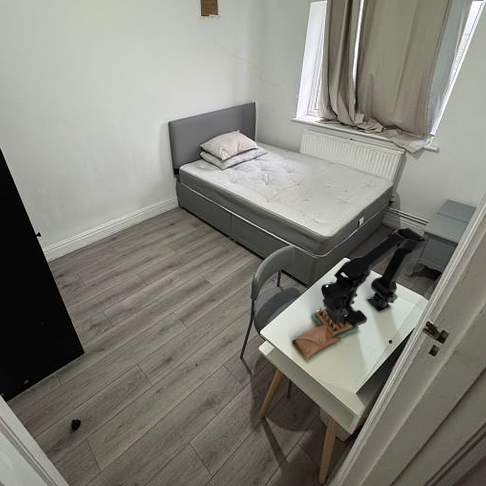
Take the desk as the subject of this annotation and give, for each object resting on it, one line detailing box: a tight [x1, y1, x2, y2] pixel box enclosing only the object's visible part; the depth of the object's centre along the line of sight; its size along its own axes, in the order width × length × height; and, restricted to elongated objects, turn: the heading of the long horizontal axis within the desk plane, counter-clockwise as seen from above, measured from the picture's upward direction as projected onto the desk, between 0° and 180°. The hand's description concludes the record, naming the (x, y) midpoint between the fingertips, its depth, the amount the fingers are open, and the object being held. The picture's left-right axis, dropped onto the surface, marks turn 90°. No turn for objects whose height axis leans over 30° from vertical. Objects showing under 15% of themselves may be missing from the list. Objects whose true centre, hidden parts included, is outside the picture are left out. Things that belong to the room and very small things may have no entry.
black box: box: [327, 309, 349, 325], centre depth 113 cm, size 6×5×6 cm
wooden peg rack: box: [311, 307, 360, 339], centre depth 115 cm, size 13×12×8 cm
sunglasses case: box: [291, 321, 342, 361], centre depth 110 cm, size 18×7×7 cm, turn 118°
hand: (337, 316), depth 114 cm, fingers open, 7 cm apart
